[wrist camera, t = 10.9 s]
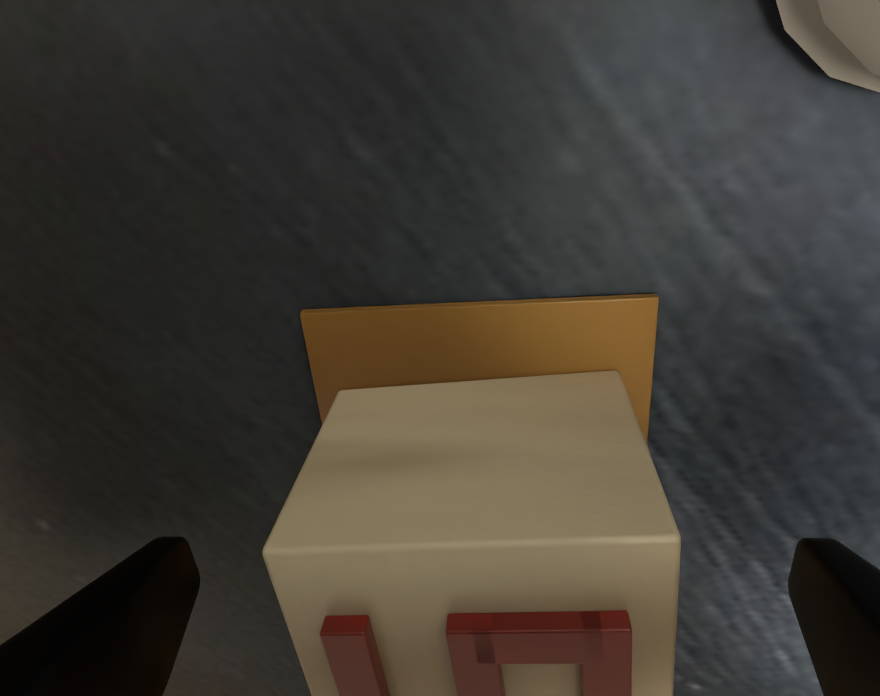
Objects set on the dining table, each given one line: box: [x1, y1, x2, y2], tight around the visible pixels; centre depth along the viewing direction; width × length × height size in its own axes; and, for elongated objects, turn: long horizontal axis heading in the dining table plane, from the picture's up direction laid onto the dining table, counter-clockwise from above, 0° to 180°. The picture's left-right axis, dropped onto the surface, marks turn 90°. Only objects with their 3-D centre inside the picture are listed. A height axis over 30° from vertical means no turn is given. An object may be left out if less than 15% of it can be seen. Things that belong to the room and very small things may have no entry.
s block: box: [263, 370, 681, 696], centre depth 10 cm, size 5×5×4 cm
